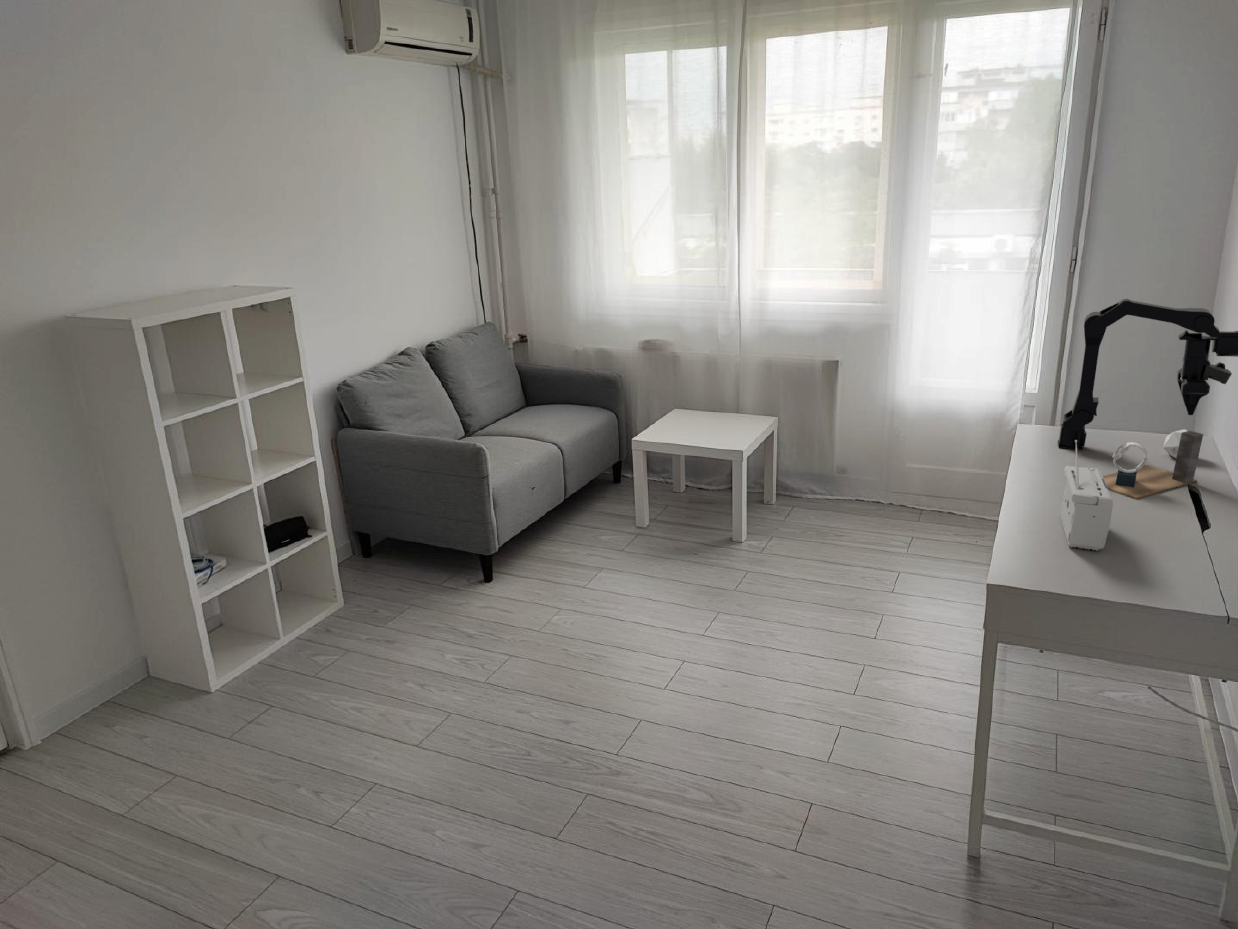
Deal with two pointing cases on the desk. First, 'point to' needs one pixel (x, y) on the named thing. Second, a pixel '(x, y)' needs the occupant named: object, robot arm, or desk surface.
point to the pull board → (1163, 471)
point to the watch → (1126, 475)
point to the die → (1173, 443)
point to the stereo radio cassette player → (1085, 507)
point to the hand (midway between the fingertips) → (1188, 410)
